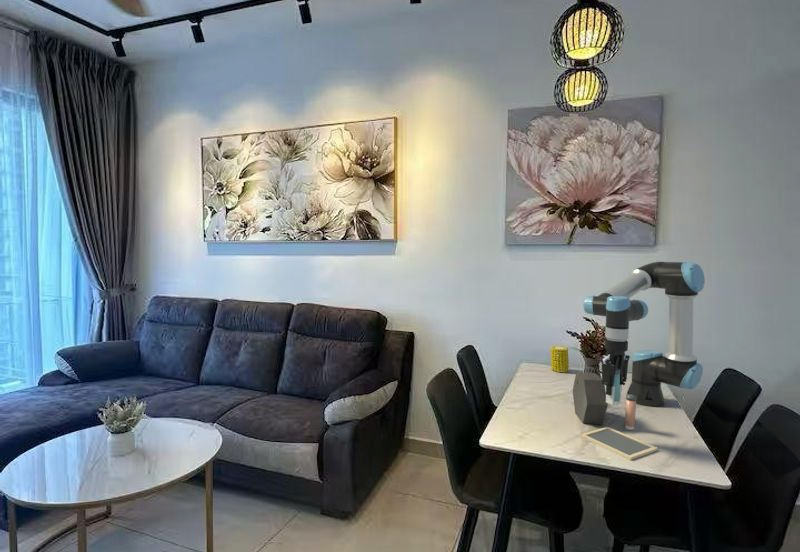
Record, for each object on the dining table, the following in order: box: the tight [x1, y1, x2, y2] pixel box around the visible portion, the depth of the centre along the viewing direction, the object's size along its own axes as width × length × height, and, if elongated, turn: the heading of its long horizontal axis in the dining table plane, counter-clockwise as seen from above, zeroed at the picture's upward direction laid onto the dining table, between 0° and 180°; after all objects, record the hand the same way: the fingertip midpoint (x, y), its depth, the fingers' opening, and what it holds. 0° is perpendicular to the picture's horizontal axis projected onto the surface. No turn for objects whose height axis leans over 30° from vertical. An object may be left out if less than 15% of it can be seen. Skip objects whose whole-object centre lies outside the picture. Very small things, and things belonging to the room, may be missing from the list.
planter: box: [572, 371, 609, 425], centre depth 173 cm, size 17×8×21 cm
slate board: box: [579, 426, 659, 461], centre depth 152 cm, size 15×19×1 cm
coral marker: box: [624, 393, 637, 431], centre depth 164 cm, size 4×4×13 cm
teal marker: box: [610, 368, 620, 406], centre depth 154 cm, size 4×4×13 cm
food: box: [549, 344, 570, 373], centre depth 241 cm, size 15×12×10 cm
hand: (613, 402), depth 155 cm, fingers closed on teal marker, 3 cm apart
